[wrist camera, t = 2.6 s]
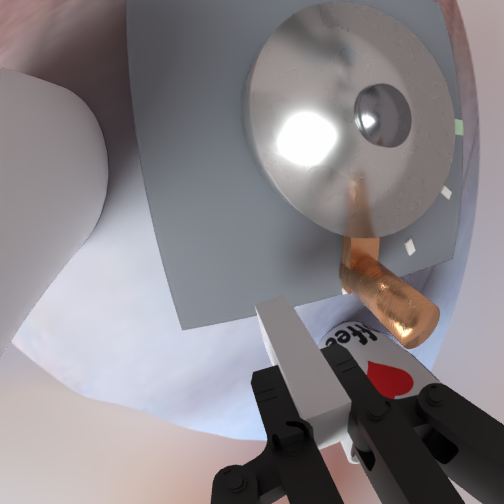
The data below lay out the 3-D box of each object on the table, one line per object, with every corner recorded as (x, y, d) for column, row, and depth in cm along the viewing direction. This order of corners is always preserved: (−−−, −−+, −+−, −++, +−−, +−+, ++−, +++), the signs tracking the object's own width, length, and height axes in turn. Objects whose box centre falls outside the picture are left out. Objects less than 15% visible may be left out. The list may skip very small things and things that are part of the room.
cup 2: (392, 302, 22) (466, 374, 13) (363, 370, 25) (414, 442, 16) (311, 308, 20) (381, 411, 11) (290, 382, 23) (331, 475, 14)
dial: (227, 12, 10) (258, -63, 4) (415, 38, 11) (491, 23, 6) (263, 307, 16) (301, 391, 10) (420, 265, 18) (482, 309, 12)
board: (132, -17, 9) (126, -34, 7) (424, 8, 12) (441, 3, 10) (182, 312, 18) (182, 332, 16) (437, 250, 21) (454, 259, 19)
